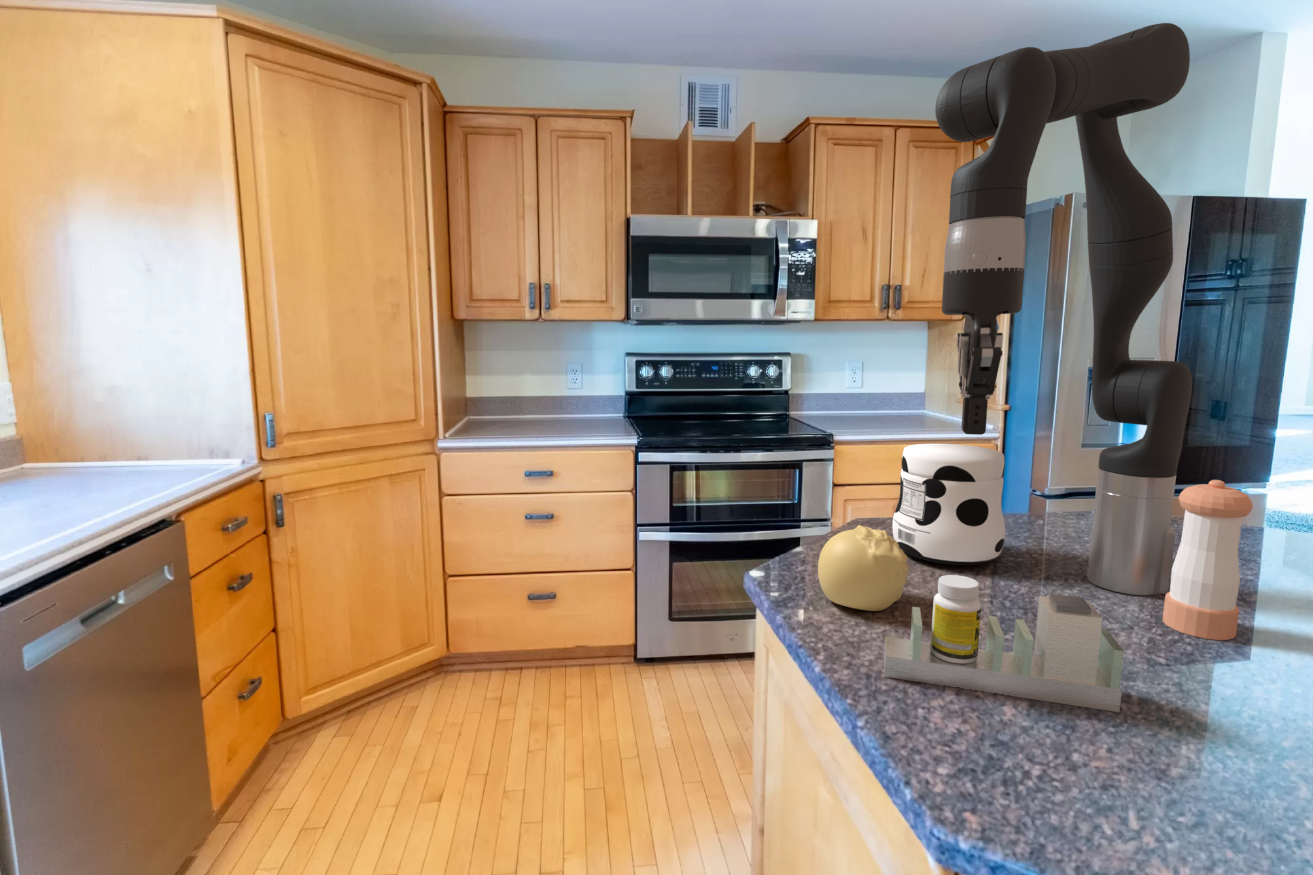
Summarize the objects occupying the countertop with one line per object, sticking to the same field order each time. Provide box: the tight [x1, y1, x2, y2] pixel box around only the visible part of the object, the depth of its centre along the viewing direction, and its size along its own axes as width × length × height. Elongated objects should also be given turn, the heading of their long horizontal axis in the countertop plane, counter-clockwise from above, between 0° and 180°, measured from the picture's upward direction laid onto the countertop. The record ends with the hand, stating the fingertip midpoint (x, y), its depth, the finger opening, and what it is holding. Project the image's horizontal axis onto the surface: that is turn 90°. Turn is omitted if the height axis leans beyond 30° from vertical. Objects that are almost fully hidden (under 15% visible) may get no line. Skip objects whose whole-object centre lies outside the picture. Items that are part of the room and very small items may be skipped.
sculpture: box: [817, 524, 909, 612], centre depth 92 cm, size 12×12×11 cm
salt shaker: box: [1162, 479, 1254, 641], centre depth 83 cm, size 7×7×19 cm
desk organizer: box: [883, 593, 1125, 713], centre depth 70 cm, size 22×5×10 cm, turn 72°
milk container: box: [892, 443, 1006, 566], centre depth 110 cm, size 17×17×18 cm
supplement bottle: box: [930, 574, 982, 664], centre depth 72 cm, size 5×5×8 cm
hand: (973, 433), depth 71 cm, fingers closed
